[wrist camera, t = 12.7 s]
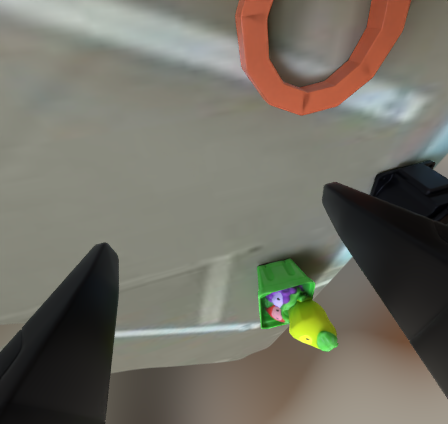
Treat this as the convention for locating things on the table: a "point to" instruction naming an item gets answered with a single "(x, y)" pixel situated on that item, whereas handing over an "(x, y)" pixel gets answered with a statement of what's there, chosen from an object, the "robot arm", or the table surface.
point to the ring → (336, 83)
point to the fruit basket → (293, 304)
